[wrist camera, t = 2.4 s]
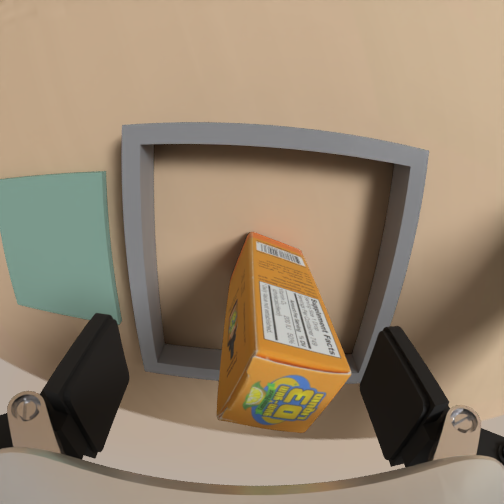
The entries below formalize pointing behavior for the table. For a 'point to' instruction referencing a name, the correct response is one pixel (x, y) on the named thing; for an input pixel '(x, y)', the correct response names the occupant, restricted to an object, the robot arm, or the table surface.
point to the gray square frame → (146, 135)
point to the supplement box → (277, 342)
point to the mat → (59, 243)
